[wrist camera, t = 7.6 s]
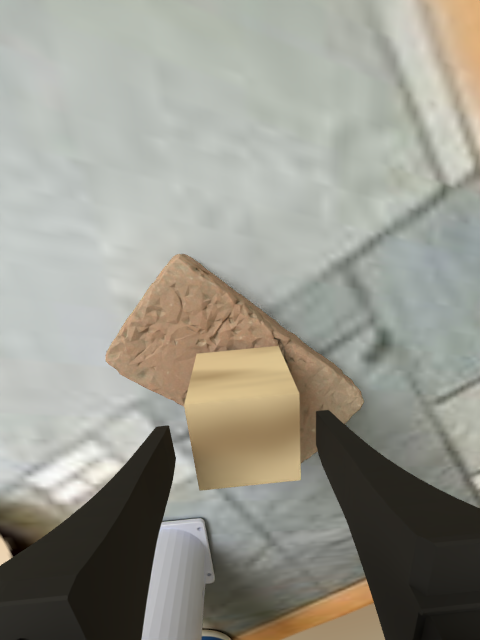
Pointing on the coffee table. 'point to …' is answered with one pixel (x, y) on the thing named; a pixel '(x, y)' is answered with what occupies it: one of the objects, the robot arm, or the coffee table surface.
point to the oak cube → (243, 418)
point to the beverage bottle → (213, 635)
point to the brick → (219, 343)
